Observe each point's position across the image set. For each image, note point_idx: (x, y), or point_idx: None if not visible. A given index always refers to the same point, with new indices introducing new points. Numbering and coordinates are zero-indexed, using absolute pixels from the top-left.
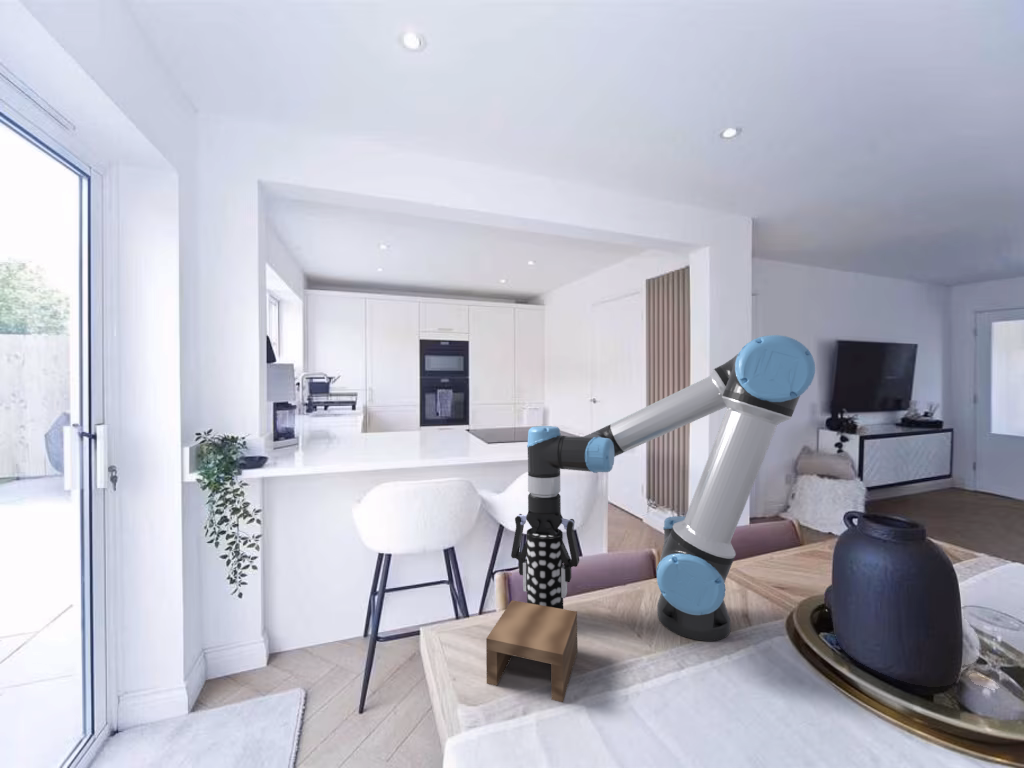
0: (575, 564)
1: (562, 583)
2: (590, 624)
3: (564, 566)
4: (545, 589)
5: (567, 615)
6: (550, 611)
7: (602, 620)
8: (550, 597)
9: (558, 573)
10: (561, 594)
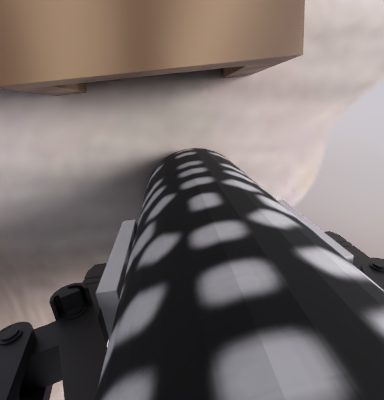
0: (4, 332)
1: (122, 246)
2: (78, 228)
3: (108, 318)
4: (183, 182)
5: (6, 28)
6: (97, 30)
7: (57, 257)
8: (163, 183)
9: (129, 259)
10: (133, 224)
